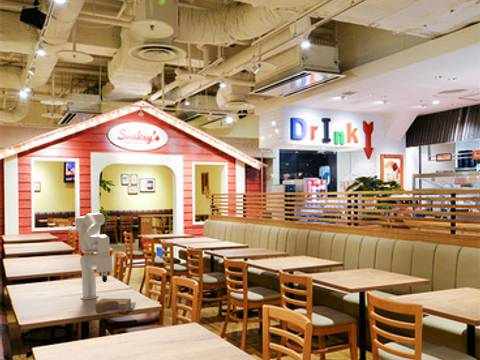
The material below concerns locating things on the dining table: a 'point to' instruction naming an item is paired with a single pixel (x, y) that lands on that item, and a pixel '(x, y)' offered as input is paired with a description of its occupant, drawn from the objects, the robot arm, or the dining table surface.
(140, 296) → the dining table surface
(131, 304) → the mat
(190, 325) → the dining table surface
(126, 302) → the decorative block
